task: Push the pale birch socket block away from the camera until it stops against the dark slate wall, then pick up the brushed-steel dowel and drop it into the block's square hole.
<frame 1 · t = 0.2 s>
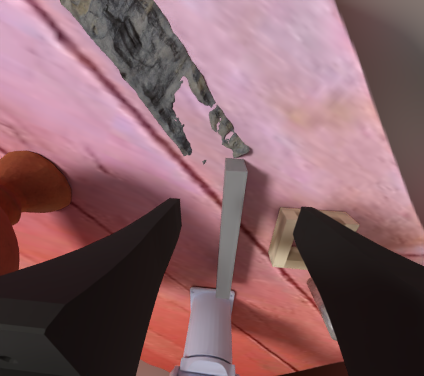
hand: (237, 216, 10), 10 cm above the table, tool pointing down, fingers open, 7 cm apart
driftwood: (165, 84, 16), on the table
goblet: (42, 183, 22), on the table
backstop wall: (227, 227, 23), on the table
socket block: (307, 240, 21), point 1 cm above the table, slide at -5.0 cm
dowel: (316, 282, 27), on the table
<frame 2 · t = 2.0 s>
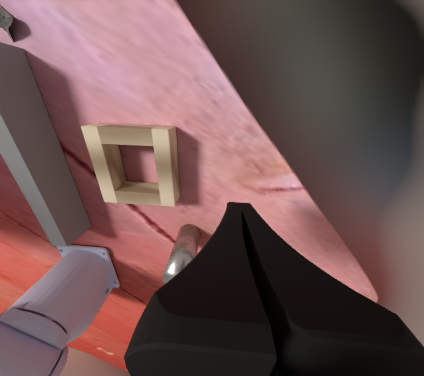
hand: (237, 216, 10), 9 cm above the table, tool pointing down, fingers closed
backstop wall: (57, 157, 19), on the table
socket block: (138, 166, 17), point 1 cm above the table, slide at -5.0 cm
dowel: (190, 232, 23), on the table
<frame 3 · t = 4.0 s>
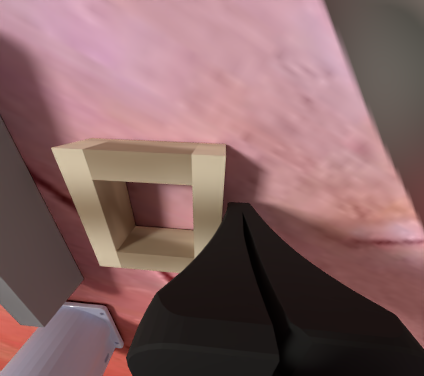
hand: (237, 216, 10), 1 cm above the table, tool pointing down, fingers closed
backstop wall: (26, 190, 12), on the table
socket block: (157, 210, 10), point 1 cm above the table, slide at -4.9 cm, touching gripper
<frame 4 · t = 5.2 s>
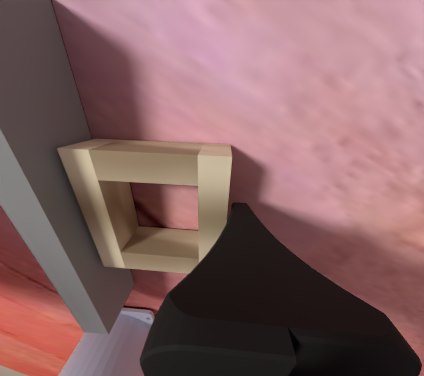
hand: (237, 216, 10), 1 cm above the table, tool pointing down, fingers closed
backstop wall: (95, 195, 12), on the table
socket block: (161, 210, 10), point 1 cm above the table, slide at 0.1 cm, touching gripper
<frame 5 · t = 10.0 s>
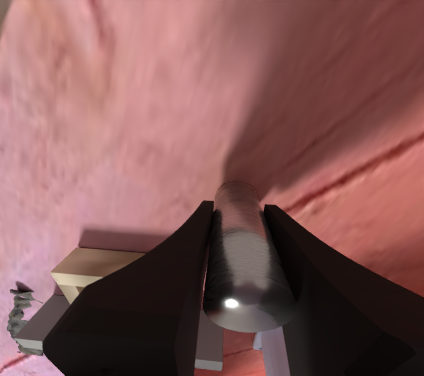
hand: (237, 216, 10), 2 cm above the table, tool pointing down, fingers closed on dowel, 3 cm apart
driftwood: (40, 321, 24), on the table
backstop wall: (137, 308, 19), on the table
socket block: (120, 291, 15), point 1 cm above the table, slide at 0.0 cm
dowel: (235, 200, 12), on the table, touching gripper
when the fingers open (3 cm above the table, at t = 14.0 s): dowel drops 1 cm, resting in socket block.
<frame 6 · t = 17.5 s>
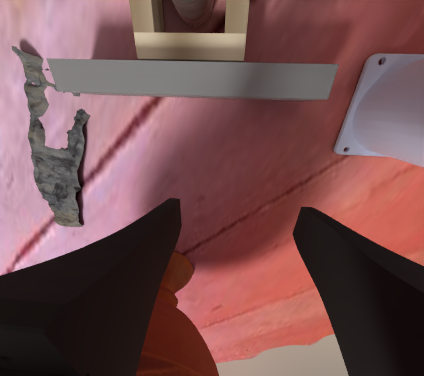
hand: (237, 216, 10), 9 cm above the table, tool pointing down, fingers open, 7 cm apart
driftwood: (67, 160, 20), on the table
goblet: (168, 266, 27), on the table
backstop wall: (195, 85, 15), on the table
dowel: (194, 0, 13), resting in socket block
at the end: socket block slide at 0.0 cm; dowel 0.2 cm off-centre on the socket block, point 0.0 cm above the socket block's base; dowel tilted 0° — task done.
